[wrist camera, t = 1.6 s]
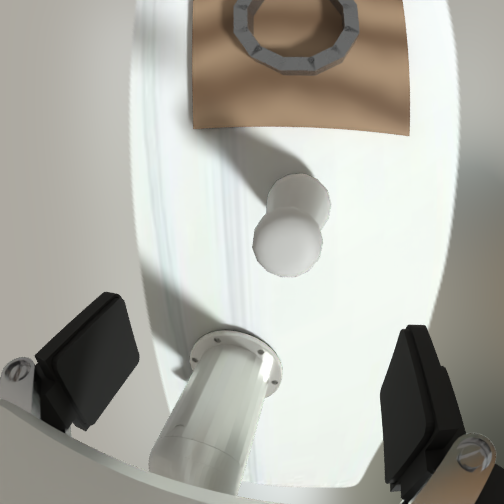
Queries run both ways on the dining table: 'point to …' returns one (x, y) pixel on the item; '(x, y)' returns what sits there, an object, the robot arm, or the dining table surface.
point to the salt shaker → (292, 226)
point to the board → (295, 86)
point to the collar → (302, 66)
